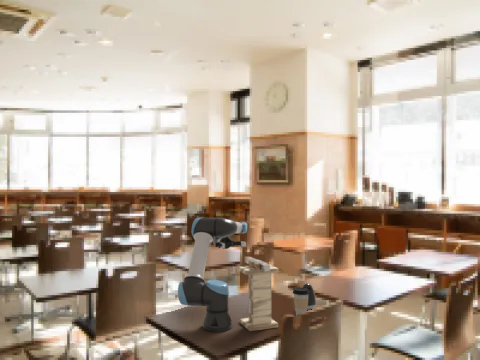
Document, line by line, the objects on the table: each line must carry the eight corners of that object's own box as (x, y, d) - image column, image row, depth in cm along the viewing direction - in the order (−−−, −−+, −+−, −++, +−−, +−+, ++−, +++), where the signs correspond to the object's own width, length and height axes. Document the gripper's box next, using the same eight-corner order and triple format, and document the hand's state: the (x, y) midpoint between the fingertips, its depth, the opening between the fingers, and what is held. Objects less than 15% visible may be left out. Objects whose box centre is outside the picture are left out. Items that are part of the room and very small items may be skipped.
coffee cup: (307, 313, 234) (307, 287, 234) (311, 318, 224) (311, 291, 225) (291, 313, 233) (291, 287, 234) (294, 318, 224) (294, 291, 224)
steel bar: (270, 271, 205) (270, 265, 205) (264, 271, 204) (264, 265, 204) (249, 261, 231) (249, 256, 231) (244, 262, 230) (244, 256, 230)
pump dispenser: (303, 312, 235) (303, 286, 235) (296, 307, 245) (296, 282, 245) (319, 311, 238) (319, 285, 238) (311, 306, 248) (311, 281, 248)
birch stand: (280, 327, 211) (279, 263, 211) (247, 331, 204) (247, 265, 205) (268, 318, 224) (268, 258, 224) (238, 322, 218) (238, 260, 218)
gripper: (242, 247, 274) (253, 249, 254) (206, 249, 265) (215, 252, 245) (242, 236, 274) (253, 237, 254) (206, 238, 266) (215, 239, 246)
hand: (234, 244), depth 250 cm, fingers open, 13 cm apart
